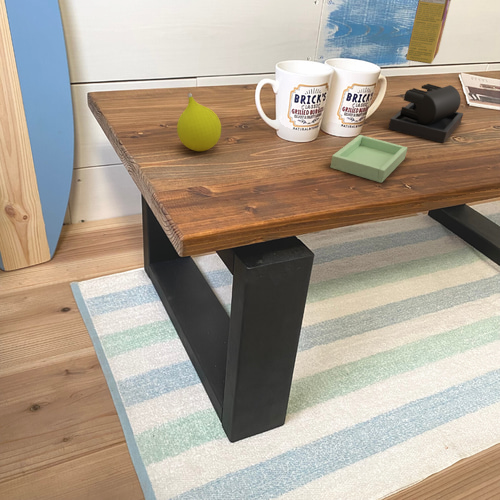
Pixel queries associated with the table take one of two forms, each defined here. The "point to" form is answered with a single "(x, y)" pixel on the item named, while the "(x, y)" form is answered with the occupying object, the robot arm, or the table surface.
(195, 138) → the ornament
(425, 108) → the end cap
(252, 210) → the table surface
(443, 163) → the table surface
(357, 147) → the sage tray
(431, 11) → the candy box
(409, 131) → the charcoal tray
